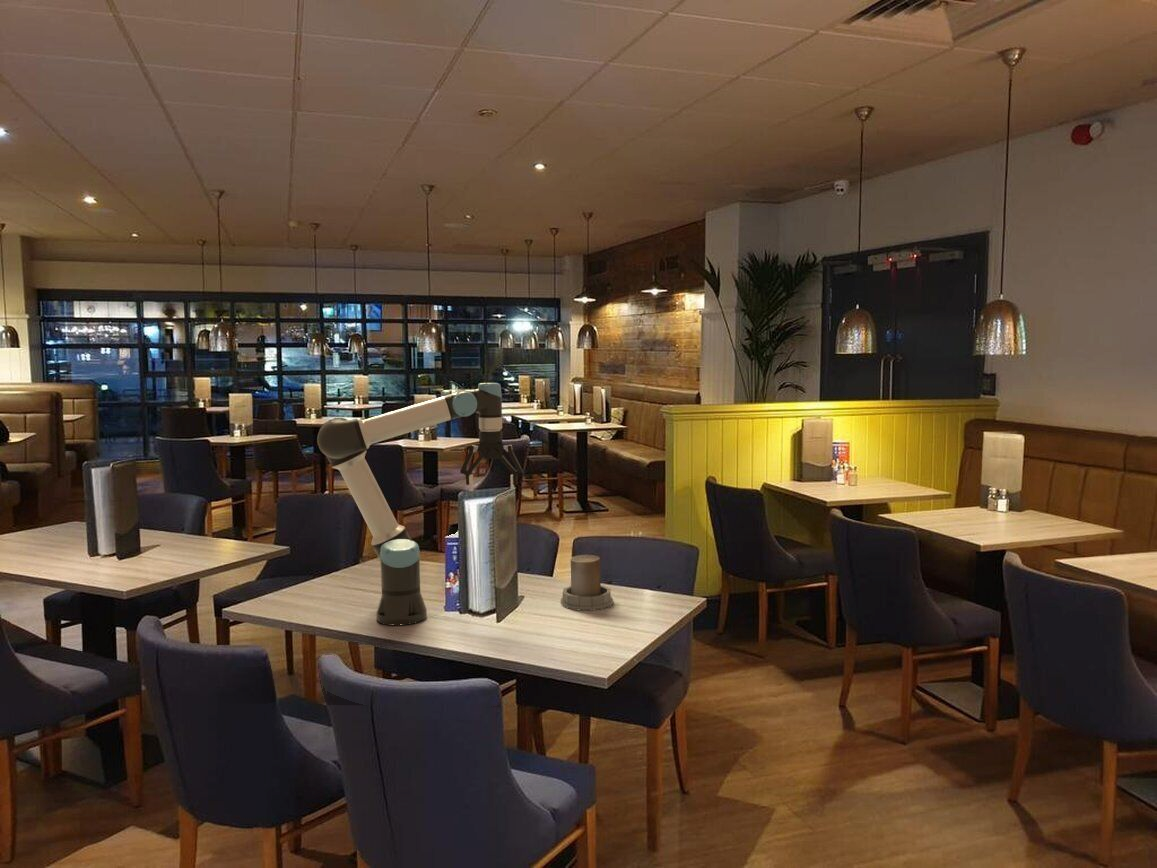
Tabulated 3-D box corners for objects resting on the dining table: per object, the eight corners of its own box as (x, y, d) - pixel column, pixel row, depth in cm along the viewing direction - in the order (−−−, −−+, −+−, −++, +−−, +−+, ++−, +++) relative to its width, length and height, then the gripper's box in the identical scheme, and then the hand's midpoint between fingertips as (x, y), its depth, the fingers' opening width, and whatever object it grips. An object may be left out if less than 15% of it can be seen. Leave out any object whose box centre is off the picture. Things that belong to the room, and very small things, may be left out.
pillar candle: (602, 595, 278) (601, 550, 277) (599, 604, 268) (598, 557, 267) (572, 595, 279) (571, 550, 278) (569, 603, 269) (568, 557, 268)
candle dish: (612, 610, 265) (612, 598, 264) (558, 610, 266) (558, 597, 265) (613, 595, 282) (613, 583, 281) (562, 595, 283) (562, 583, 282)
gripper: (530, 429, 277) (531, 492, 279) (455, 429, 279) (456, 493, 281) (527, 431, 270) (528, 496, 272) (450, 431, 272) (451, 496, 273)
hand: (491, 494), depth 276 cm, fingers open, 13 cm apart
